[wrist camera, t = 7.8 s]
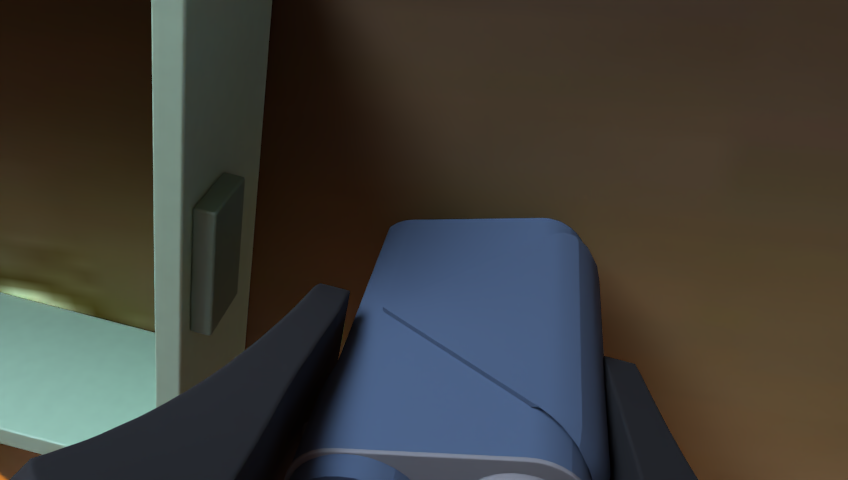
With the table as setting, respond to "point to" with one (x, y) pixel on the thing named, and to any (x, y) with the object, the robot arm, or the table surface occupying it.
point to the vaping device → (468, 361)
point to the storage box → (160, 244)
